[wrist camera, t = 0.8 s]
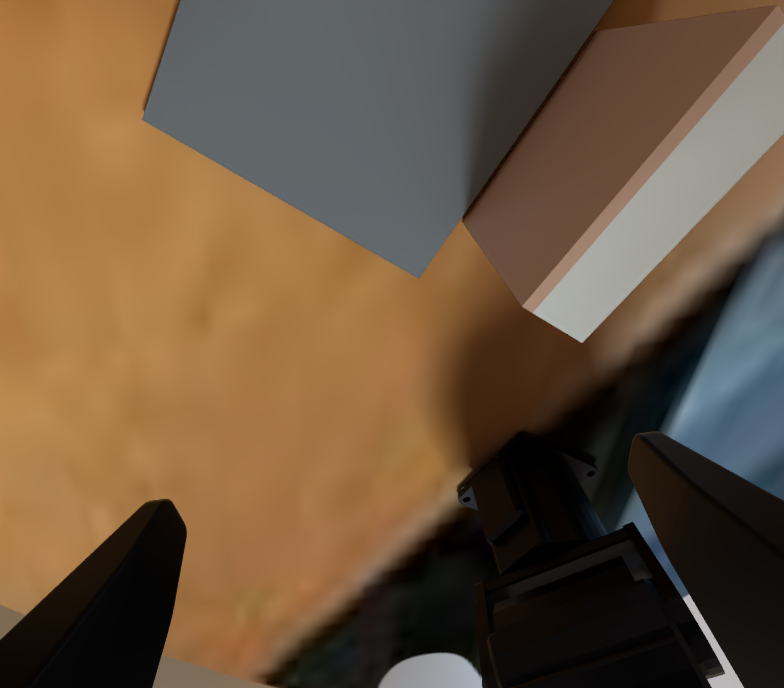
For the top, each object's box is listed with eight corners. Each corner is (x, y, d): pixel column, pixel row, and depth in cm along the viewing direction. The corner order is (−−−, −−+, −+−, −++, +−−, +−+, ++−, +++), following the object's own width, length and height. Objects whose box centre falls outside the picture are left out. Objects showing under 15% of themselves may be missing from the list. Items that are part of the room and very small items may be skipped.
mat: (658, -70, 15) (665, -74, 14) (417, 274, 20) (418, 278, 20) (330, -446, 10) (329, -464, 10) (146, 118, 16) (141, 119, 16)
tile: (640, 73, 17) (837, 77, 10) (504, 249, 20) (582, 342, 13) (596, 31, 16) (778, 4, 9) (462, 221, 19) (521, 306, 12)
